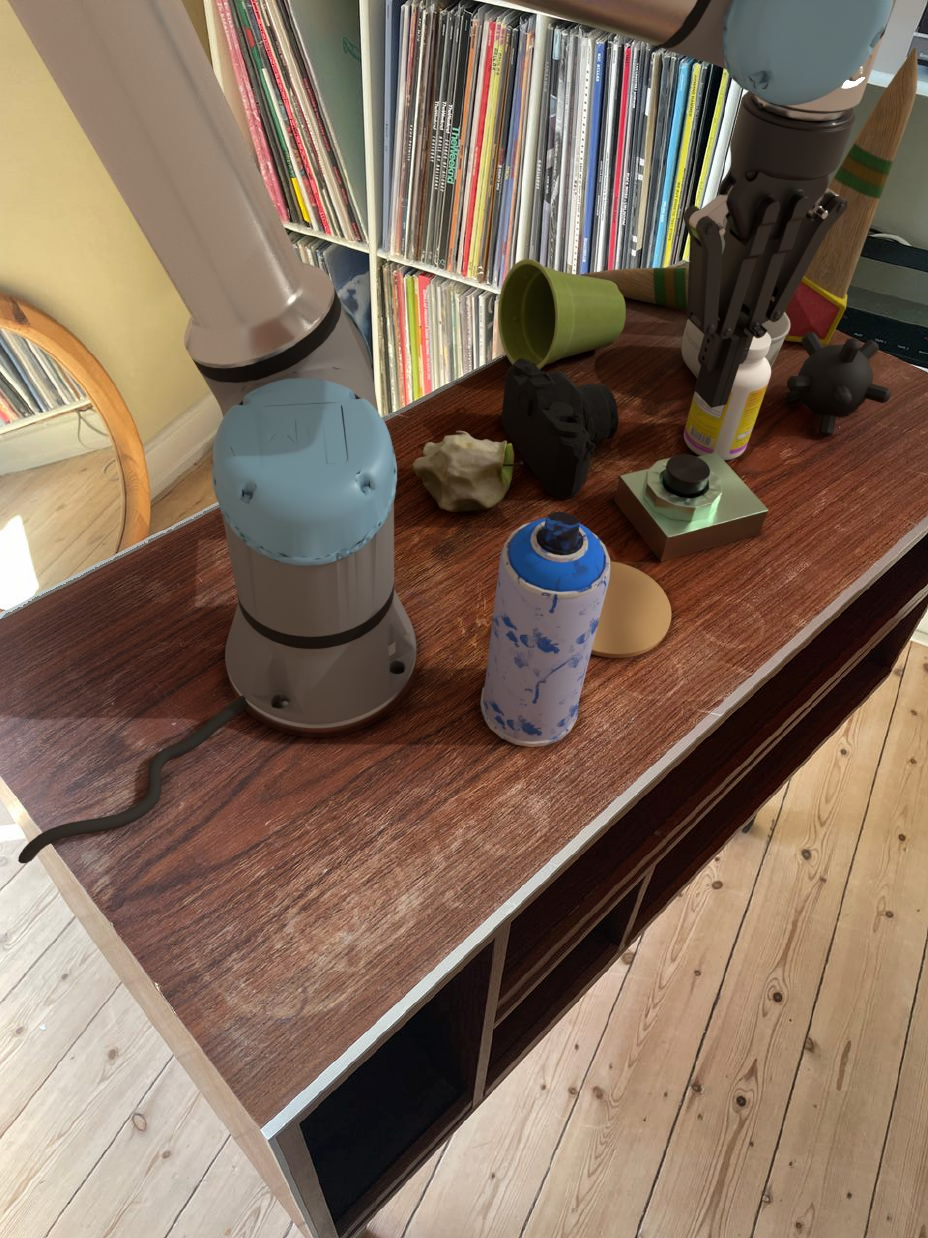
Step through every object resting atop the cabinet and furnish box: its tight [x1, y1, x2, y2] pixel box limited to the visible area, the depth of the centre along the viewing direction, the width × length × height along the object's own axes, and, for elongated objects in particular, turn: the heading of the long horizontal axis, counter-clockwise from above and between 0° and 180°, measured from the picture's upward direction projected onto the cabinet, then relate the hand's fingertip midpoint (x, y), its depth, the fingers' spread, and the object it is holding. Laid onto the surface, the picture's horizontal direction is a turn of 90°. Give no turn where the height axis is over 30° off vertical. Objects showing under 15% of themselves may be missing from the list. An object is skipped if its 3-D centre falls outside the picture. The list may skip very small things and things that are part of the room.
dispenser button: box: [662, 453, 710, 498], centre depth 86 cm, size 4×4×2 cm
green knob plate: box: [613, 452, 770, 563], centre depth 89 cm, size 11×9×5 cm
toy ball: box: [784, 332, 892, 438], centre depth 99 cm, size 11×11×12 cm
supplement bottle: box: [683, 332, 772, 461], centre depth 94 cm, size 7×7×13 cm
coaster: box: [591, 560, 672, 659], centre depth 82 cm, size 11×11×1 cm
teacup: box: [680, 312, 790, 379], centre depth 103 cm, size 14×11×8 cm
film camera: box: [500, 359, 620, 500], centre depth 93 cm, size 15×10×9 cm, turn 22°
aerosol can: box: [479, 511, 611, 748], centre depth 67 cm, size 8×8×20 cm
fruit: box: [412, 430, 524, 513], centre depth 89 cm, size 9×9×8 cm
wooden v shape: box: [579, 46, 919, 346], centre depth 108 cm, size 22×41×6 cm
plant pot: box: [497, 258, 627, 371], centre depth 105 cm, size 12×12×11 cm
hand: (710, 396), depth 79 cm, fingers closed
